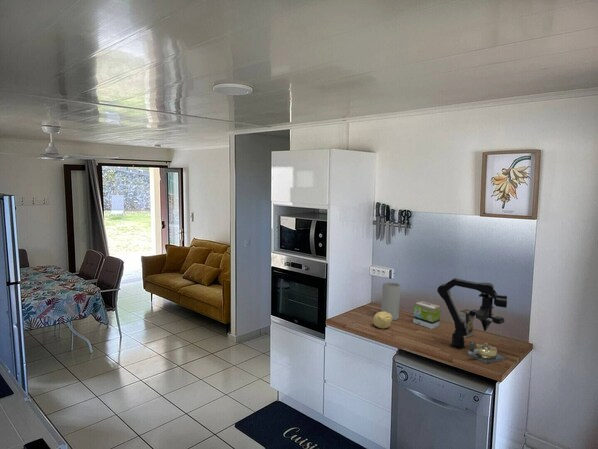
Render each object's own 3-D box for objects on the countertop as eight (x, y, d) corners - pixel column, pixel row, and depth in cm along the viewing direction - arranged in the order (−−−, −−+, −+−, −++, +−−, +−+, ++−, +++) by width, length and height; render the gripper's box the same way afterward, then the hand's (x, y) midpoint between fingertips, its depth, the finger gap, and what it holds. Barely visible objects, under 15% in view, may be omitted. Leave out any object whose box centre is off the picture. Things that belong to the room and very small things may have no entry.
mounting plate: (466, 354, 234) (467, 352, 233) (484, 350, 240) (485, 348, 240) (486, 364, 222) (486, 361, 222) (504, 359, 229) (504, 356, 228)
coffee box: (465, 338, 260) (467, 313, 258) (456, 334, 265) (458, 310, 263) (473, 335, 265) (475, 311, 263) (464, 332, 270) (466, 308, 268)
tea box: (412, 323, 285) (413, 302, 283) (420, 320, 292) (421, 300, 290) (432, 329, 274) (433, 308, 272) (439, 326, 280) (441, 305, 279)
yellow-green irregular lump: (485, 349, 238) (486, 336, 237) (500, 357, 228) (502, 343, 227) (462, 352, 232) (463, 339, 231) (476, 360, 222) (477, 346, 221)
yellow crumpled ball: (382, 331, 268) (383, 315, 266) (369, 325, 277) (370, 310, 276) (394, 328, 274) (395, 312, 273) (381, 322, 284) (381, 307, 283)
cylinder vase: (383, 314, 303) (385, 281, 301) (400, 317, 298) (402, 283, 295) (379, 319, 292) (380, 285, 289) (396, 322, 287) (398, 287, 284)
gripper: (464, 302, 238) (462, 328, 240) (495, 311, 223) (493, 338, 224) (475, 300, 244) (473, 325, 246) (505, 308, 229) (503, 334, 231)
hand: (485, 330), depth 237 cm, fingers closed
